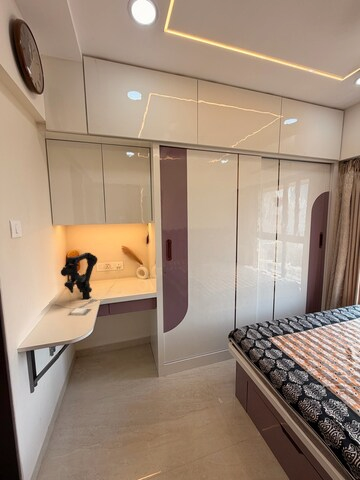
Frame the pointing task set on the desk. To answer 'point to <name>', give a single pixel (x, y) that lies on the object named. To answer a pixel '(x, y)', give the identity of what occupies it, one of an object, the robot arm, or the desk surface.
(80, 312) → the glazed tile
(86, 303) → the caliper
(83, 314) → the rubber mat
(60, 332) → the desk surface
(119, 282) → the desk surface
